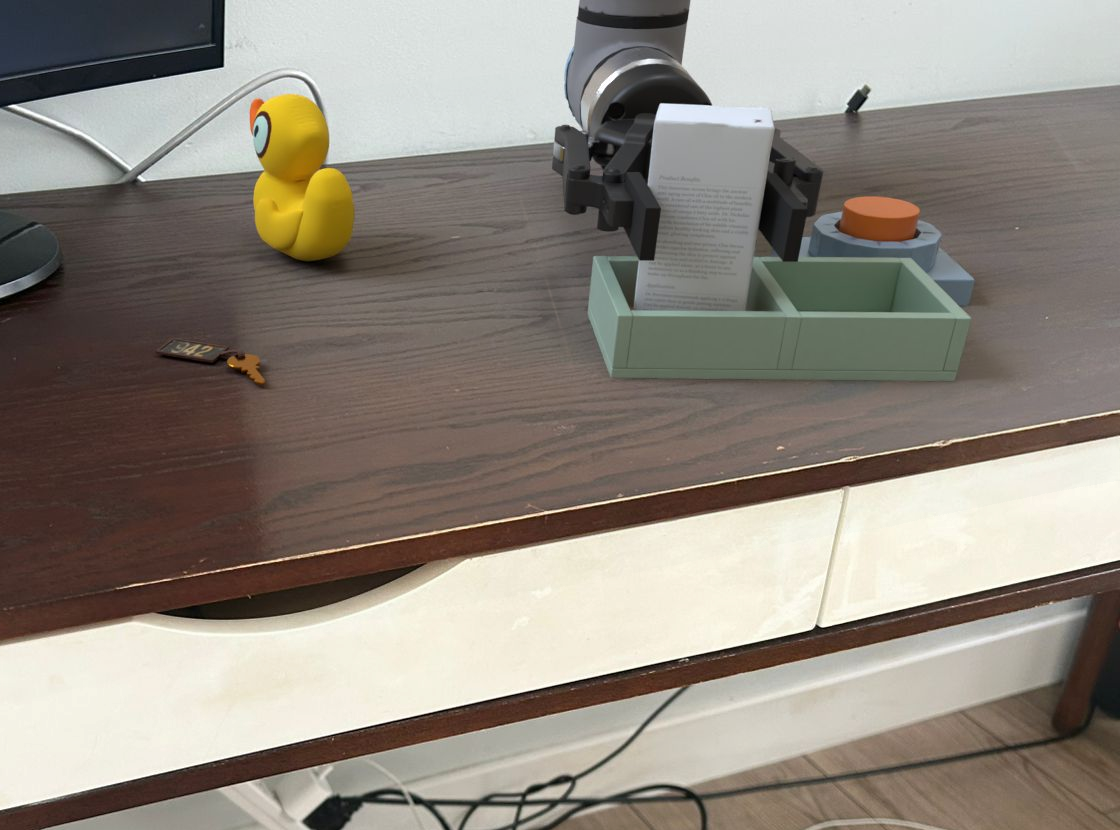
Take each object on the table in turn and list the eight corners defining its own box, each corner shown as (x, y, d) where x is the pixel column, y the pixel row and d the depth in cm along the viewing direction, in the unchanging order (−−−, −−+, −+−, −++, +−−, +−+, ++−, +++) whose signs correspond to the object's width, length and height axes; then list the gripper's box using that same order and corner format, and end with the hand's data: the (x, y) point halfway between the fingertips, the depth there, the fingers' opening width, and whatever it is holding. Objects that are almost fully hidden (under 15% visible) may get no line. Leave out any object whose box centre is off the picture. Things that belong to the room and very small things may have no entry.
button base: (923, 262, 89) (936, 209, 87) (968, 306, 83) (983, 250, 81) (769, 261, 90) (779, 208, 88) (801, 305, 83) (812, 249, 81)
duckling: (223, 236, 95) (217, 85, 89) (291, 223, 97) (289, 76, 91) (302, 285, 86) (300, 122, 81) (375, 270, 88) (377, 111, 83)
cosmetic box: (739, 322, 78) (775, 106, 72) (739, 350, 75) (777, 126, 68) (631, 313, 80) (658, 100, 73) (626, 340, 76) (654, 119, 70)
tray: (897, 316, 81) (911, 257, 79) (955, 382, 73) (972, 318, 71) (587, 314, 82) (593, 255, 80) (610, 378, 74) (618, 315, 72)
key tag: (148, 351, 77) (147, 341, 77) (183, 335, 79) (182, 325, 79) (261, 386, 73) (261, 376, 72) (295, 368, 75) (295, 358, 74)
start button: (900, 223, 86) (906, 196, 85) (923, 246, 82) (930, 217, 82) (829, 223, 86) (835, 195, 85) (850, 246, 83) (856, 217, 82)
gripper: (788, 181, 90) (900, 307, 71) (491, 180, 91) (523, 304, 71) (809, 62, 86) (935, 161, 67) (499, 61, 87) (535, 158, 67)
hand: (722, 234), depth 69 cm, fingers closed on cosmetic box, 7 cm apart
